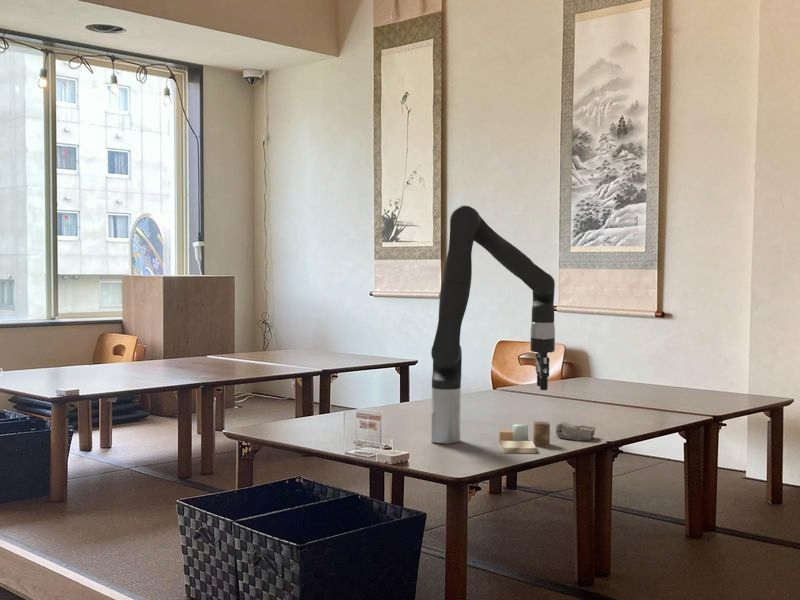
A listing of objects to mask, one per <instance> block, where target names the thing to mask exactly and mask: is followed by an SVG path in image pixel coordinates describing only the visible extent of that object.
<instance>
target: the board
mask: <svg viewBox="0 0 800 600" xmlns="http://www.w3.org/2000/svg"><path fill="white" fill-rule="evenodd" d="M499 445H500V447H501V450H502V454H503V453H504V454H505V453H506V454H510V453H511V454H537V446H535V445H534V440H528V441H500V443H499Z"/></svg>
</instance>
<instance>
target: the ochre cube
mask: <svg viewBox="0 0 800 600" xmlns="http://www.w3.org/2000/svg"><path fill="white" fill-rule="evenodd" d="M500 441H513V432H512V429H499V430H498V443H499V444H500Z"/></svg>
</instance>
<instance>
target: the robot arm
mask: <svg viewBox="0 0 800 600" xmlns="http://www.w3.org/2000/svg"><path fill="white" fill-rule="evenodd" d="M449 219H450V220H449V239H448V240H449V242H448V251H447V255H446V259H445V263H444V269H443V273H442V279H441V283H440V284H441V285H440V295H439V304H438V305H439V306H438V322H437V327H436V332H435V336H434V340H433V344H432V346H431V350H430V351H431V352H430V353H431V360H432V377H431V433H430V434H431V435H430V436H431V441H430V442H431V443H437V444H456V443H460V442H461V410H462V409H461V407H462V406H461V397H462V396H461V394H462V393H461V391H462V390H461V386H462V384H461V382H462V365H463V364H462V362H463V361H462V355H463V354H462V346H461V344H460V343H461V329H462V324H463V320H464V317H465V313H466V311H467V306H468V303H469V299H470V292H471V287H472V278H473V277H472V273H473V271H472V270H473V269H472V268H473V267H472V265H473V264H472V262H473V261H472V260H473V259H472V255H473V254H472V253H473V246H474V242H475V243H477V244H478V245H479V246H481V247H482V248H483V249H484V250H486V251H487V252H488V253H489V254H490V255H491V256H492V257H493V258H494V259H495V261H498V263H499V264H500V265H502V266H503V267H504V268H506V270H508V271H509V272H510V273H511V274H513V275H514V276H515V277H516V278H518V279H520V280H521V281H522V282H523V283H524V284H525V285H526V286H527V287H528V288H529V289H531V290H532V307H531V323H530V324H531V325H530V326H531V327H530V352H532V353H535V359H534V360H535V373H536V385H537V386H538V387H539V389H540V391H548V387H549V386H548V384H549V382H548V381H549V380H548V378H549V377H550V362H551V361H550V357H549V356H548V354H549V353H554V352H555V351H556V349H555V348H556V346H555V345H556V327H555V306H554V302H555V301H554V300H555V288H556V287H555V286H556V285H555V284H556V283H555V279H554V277H553V275H552V274H550V273H547V272H546V271H545V270H543V269H542V268H541V267H540V266H538V265H537V264H536V263H534V262H533V260H532V259H531V258H529V257H528V255H526V254H525V253H524V252H522V251H521V250H520V249H519V248H518V247H516V246H515V245H514V244H512V243H511V242H509V241H508V240H506V239H505V238H503V237H502V236H501V235H500V234H498V233H497V232H496V231H495V230H494V229H493V228H491V227H490V226H489V225H488V223H487V222H486V221H485V220H484V219H483V218H482V216H480V213H479V212H478V211H477V209H475V208H474V207H471V206H469V205H459V206H458V207H457V208H455V209H454V210H453V211H452V213H451V215H450V218H449Z"/></svg>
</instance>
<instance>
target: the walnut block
mask: <svg viewBox="0 0 800 600" xmlns="http://www.w3.org/2000/svg"><path fill="white" fill-rule="evenodd" d="M550 427H551V424H550V423H549V421H533V443H534V445H535V446H536V447H543V446H550V440H551V439H550V436H551V435H550V432H551V428H550Z"/></svg>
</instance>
